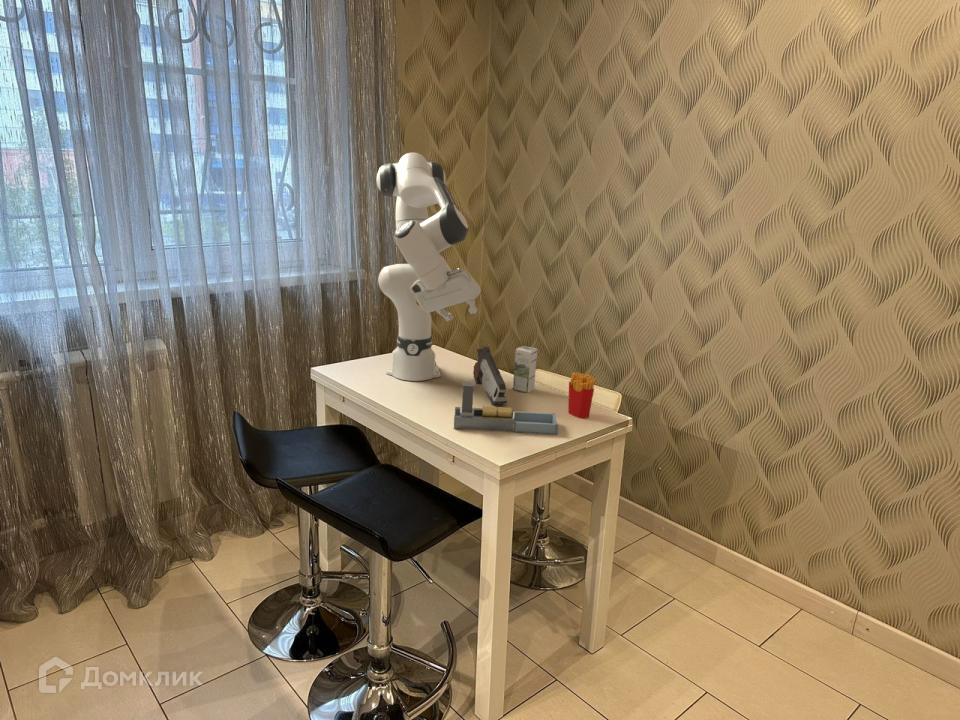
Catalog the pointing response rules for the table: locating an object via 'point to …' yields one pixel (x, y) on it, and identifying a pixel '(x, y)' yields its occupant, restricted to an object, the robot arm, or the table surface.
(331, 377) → the table surface
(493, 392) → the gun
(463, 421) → the slot bed
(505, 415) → the mustard yellow cube
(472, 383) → the tall gray pillar
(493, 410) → the golden tan cube
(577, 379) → the french fries
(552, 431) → the tray
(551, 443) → the table surface
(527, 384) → the syrup box
